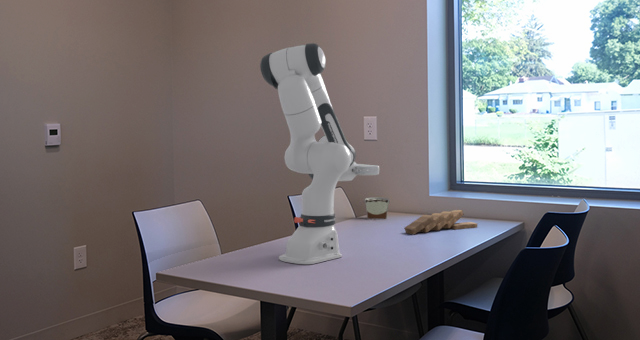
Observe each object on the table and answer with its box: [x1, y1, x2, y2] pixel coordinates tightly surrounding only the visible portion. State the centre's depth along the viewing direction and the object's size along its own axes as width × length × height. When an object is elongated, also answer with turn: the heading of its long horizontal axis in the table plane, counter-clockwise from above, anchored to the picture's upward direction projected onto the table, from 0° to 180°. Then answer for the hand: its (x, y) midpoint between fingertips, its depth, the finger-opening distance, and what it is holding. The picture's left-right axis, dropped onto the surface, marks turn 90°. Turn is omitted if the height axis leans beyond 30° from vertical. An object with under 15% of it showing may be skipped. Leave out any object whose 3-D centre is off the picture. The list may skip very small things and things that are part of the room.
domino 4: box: [441, 209, 465, 229], centre depth 234 cm, size 2×5×12 cm
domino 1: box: [404, 214, 434, 235], centre depth 223 cm, size 2×5×12 cm
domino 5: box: [449, 221, 478, 231], centre depth 233 cm, size 2×5×12 cm
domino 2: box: [418, 212, 444, 233], centre depth 226 cm, size 2×5×12 cm
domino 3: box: [430, 210, 454, 231], centre depth 230 cm, size 2×5×12 cm
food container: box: [363, 197, 390, 220], centre depth 262 cm, size 12×6×10 cm, turn 84°
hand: (376, 168), depth 214 cm, fingers closed
